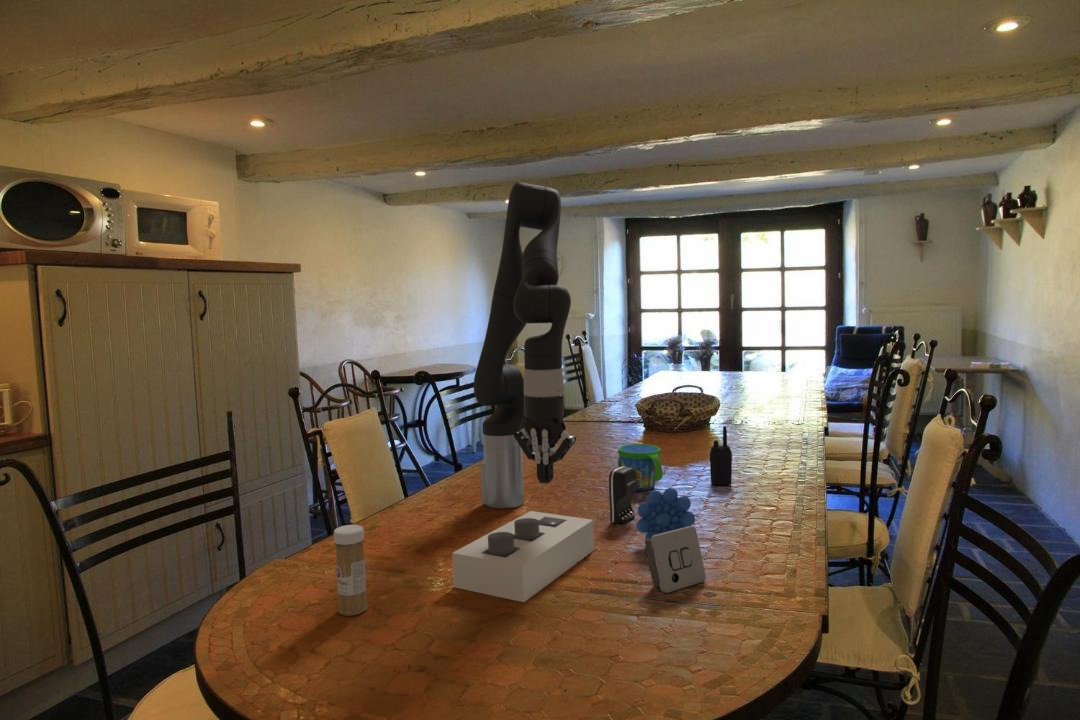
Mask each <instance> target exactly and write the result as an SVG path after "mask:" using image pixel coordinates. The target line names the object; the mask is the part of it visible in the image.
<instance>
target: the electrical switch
mask: <svg viewBox="0 0 1080 720" xmlns="http://www.w3.org/2000/svg"><path fill="white" fill-rule="evenodd" d="M644 546H645V549H646V555H647V559H648V564H649V570H650V575H651V579H652V580H651V581H652V585H653V587H657V588H660V589H659V590H660V591H661V592H662V593H663V594H666V593H667V594H668V593H672V592H675V591H677V590H681V589H684V588H689V587H691V586H694V585H696V584H701V583H704V582H705V581H706V578H707V575H706V570H705V566H704V560H703V556H702V553H701V548H700V542H699V539H698V533H697V528H696V527H694V526H693V525H692V526H688V527H684V528H680V529H676V530H672V531H668V532H665V533H661V534H657V535H653V536H652V538H651V539H647V540H645V539H644Z"/></svg>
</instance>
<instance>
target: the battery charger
mask: <svg viewBox="0 0 1080 720" xmlns="http://www.w3.org/2000/svg"><path fill="white" fill-rule="evenodd" d="M636 491H638V490H637V473H636V471H635V469H633V468H630V467H625V466H622V467H616V468H614V469H612V470H611V471H610V472H609V475H608V494H609V517H610V518H609V519H610V521H609V522H611V523H613V524H625V523H627V522H629V521H631V520H632V519H634V518H635V517H636V514H635V512H634V508H633V505H632V494H633V493H635V492H636Z"/></svg>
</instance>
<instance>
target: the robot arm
mask: <svg viewBox="0 0 1080 720" xmlns="http://www.w3.org/2000/svg"><path fill="white" fill-rule="evenodd" d="M508 197H509V199H508V204H507V210H506V217H505V225H504V232H503V234H504V235H503V240H502V249H501V256H500V259H499V265H498V269H497V273H496V274H497V275H496V279H495V284H494V287H493V288H494V289H493V294H492V298H491V304H490V313H489V318H488V323H487V328H486V331H485V337H484V342H483V345H482V348H481V349H482V350H481V352H480V356H479V359H478V363H477V366H476V370H475V373H474V377H473V394H474V397H475V399H476V401H477V402H478V403H479V405H482V406H485V407H489V406H490V407H491V406H496V408H495V410H494V412H493V413H492V414H491V415H490V416H489V417H487V418H486V419H484V421H483V422H482V442H483V443H482V444H483V445H482V447H483V463H482V464H481V465H480V480H481V481H480V482H481V483H480V484H481V503H482V505H485V506H487V507H489V508H492V509H512V508H517V507H520V506H522V505H524V504H525V491H524V487H525V486H524V485H525V484H524V463H523V462H524V460H523V458H524V456H523V455H525V456H526V458H527V459H528V460H532V461H534V462H535V464H536V478H537V480H538V483H540V484H545V485H547V484H550V483H551V482H552V480H554V464H555V463H557V462H558V461H562V460H563V459H564V457H565V456H566V455H567V453H568V452H569V451H570V449H571V448H572V446H573V445H575V442H577V436H575V435H571V434H570V433H569V432H568V431H567V430H566V428H567V427H566V424H565V422H564V416H565V394H564V393H565V385H564V383H565V382H564V374H563V340H564V339H563V338H564V333H565V328H566V326H567V320H568V317H569V313H570V310H571V305H572V299H571V293H570V292H569V290H568V289H567V288H566V287H565V286H563V285H559V284H558V283H559V266H558V265H559V264H558V252H557V251H558V243H559V236H560V224H561V214H562V213H561V212H562V202H561V195H560V192H559V191H558V190H556V189H554V188H551V187H548V186H542V185H537V184H532V183H526V182H522V181H521V182H519V181H518V182H516V183H514V184H513V186H512V187H511V189H510V192H509V196H508ZM521 227H522V228H528V229H533V230H538V231H540V232H539V233H538V234H537V235H535V236H534V237H533V238H532V239H531V240H530V241H529V242H528V243H527V244H526V245H525V247H524V250H523V249H522V245H521V244H522V243H521V240H520V239H521V238H520V230H521ZM527 324H551V326H550V328H549V330H548V331H547V332H545V333H542V334H539V335H534V336H531V337H528V338H526V339H525V341H524V343H523V344H524V345H523V346H524V347H523V354H524V355H523V356H524V357H523V358H524V360H523V362H524V374H523V373H522V371H521V369H520V368H519V367H518V366H516V365H515V364H511V363H506V364H505V362H506V358H507V356H508V353H509V351H510V349H511V347H512V346H513V344H514V343H515V341H516V339H517V338H518V337H519V335H520V334H521V333H522V331H523V330H524V328H525V327H526V325H527ZM524 419H525V420H524ZM522 427H523V428H522ZM559 441H560V443H561V444H560V445H559V446H558V442H559ZM557 447H558V448H557ZM523 453H524V454H523Z"/></svg>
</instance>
